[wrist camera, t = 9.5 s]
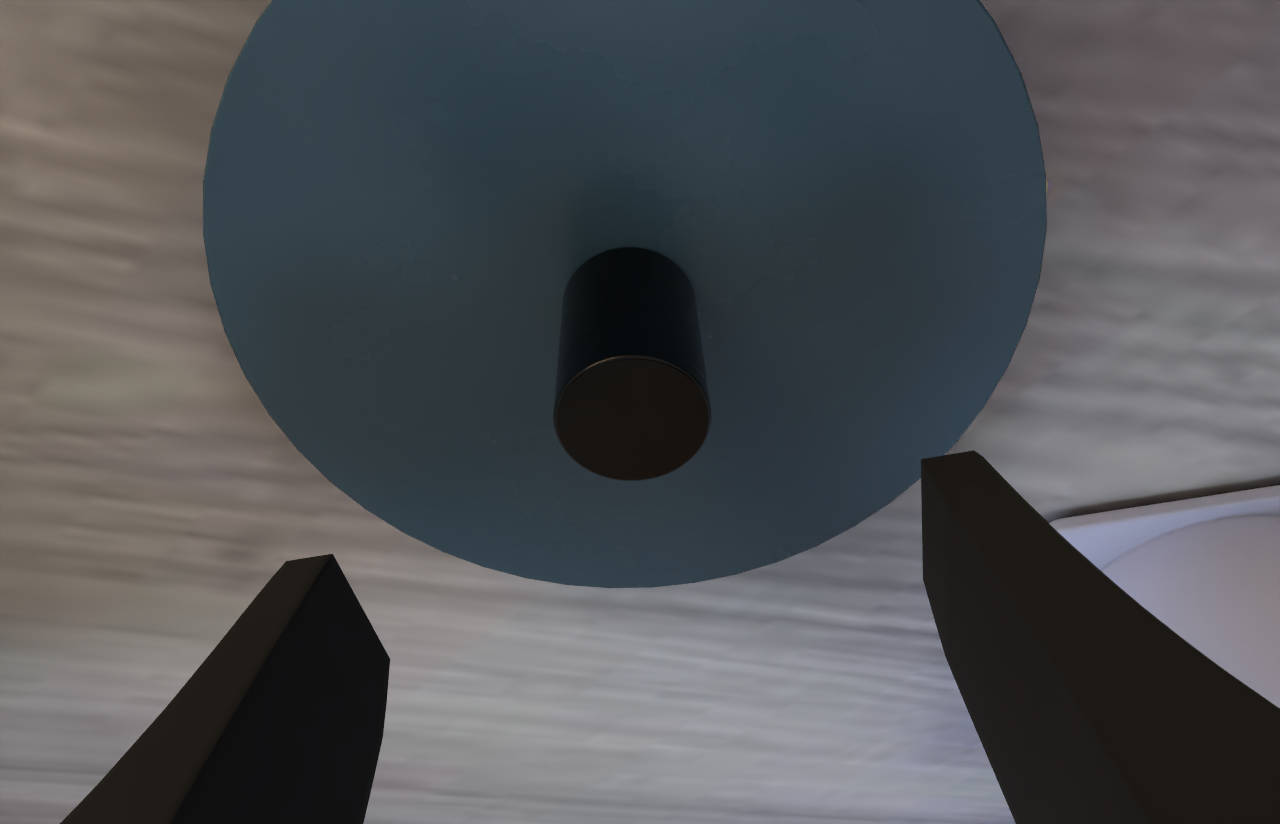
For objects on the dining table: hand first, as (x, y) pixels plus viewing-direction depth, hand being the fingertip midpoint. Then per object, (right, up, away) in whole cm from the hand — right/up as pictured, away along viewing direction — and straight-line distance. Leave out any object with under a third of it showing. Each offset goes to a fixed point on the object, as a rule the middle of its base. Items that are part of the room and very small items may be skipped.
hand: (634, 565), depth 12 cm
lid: (0, +4, +6) cm, 7 cm away
